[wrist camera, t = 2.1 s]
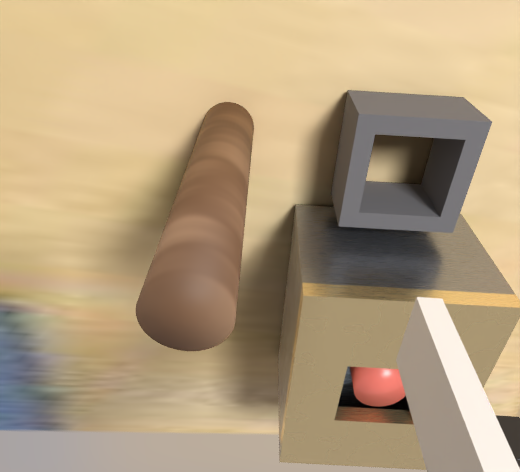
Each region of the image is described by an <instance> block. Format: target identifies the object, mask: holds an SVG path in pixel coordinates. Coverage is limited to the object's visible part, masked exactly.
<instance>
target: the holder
mask: <svg viewBox="0 0 520 472" xmlns="http://www.w3.org/2000/svg"><path fill="white" fill-rule="evenodd" d="M491 123H492V121H490V120H489V119H488V118H487V117H486V116H485V115H483V114H482V113H481V112H480V111H479V110H478V109H476V108H475V107H474V106H473V105H472V104H471V103H469V102H468V101H467V100H466V99H465V98H464V97H449V96H432V95H416V94H400V93H384V92H368V91H352V90H348V91H347V97H346V104H345V110H344V116H343V122H342V128H341V134H340V141H339V147H338V153H337V159H336V165H335V172H334V178H333V184H332V190H331V195H332V200H333V204H334V208H335V213H336V217H337V222H338V226H340V227H357V228H374V229H391V230H409V231H426V232H443V233H453V231H454V228H455V225H456V223H457V220H458V217H459V214H460V211H461V208H462V206H463V203H464V200H465V197H466V194H467V191H468V189H469V186H470V183H471V180H472V177H473V174H474V172H475V169H476V166H477V163H478V160H479V157H480V155H481V152H482V149H483V146H484V143H485V140H486V138H487V135H488V132H489V129H490V126H491ZM375 134H378V135H394V136H411V137H427V138H434V140H433V144H432V147H431V151H430V154H429V158H428V161H427V165H426V168H425V172H424V175H423V179H422V182H421V184H405V183H389V182H372V181H366V176H367V171H368V167H369V162H370V157H371V152H372V147H373V142H374V138H375Z"/></svg>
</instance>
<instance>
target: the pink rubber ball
mask: <svg viewBox="0 0 520 472" xmlns="http://www.w3.org/2000/svg"><path fill="white" fill-rule="evenodd" d="M350 372H351V377H352V383H353V389H354V394H355V396H356V398H357V399H358V400H359V401H360V402H362V403H363V404H366V405H369V406H387V405H391V404H394V403H396V402H398V401H400V400H401V399H402V398H404V397H405V391H404V387H403V384H402V380H401V377H400V373H399V369H386V368H367V367H350Z"/></svg>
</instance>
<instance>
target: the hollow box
mask: <svg viewBox="0 0 520 472" xmlns="http://www.w3.org/2000/svg"><path fill="white" fill-rule="evenodd" d="M416 297H425V298H440V299H443V301H444V303H445V306H446V308H447V310H448V312H449V314H450V317H451V319H452V321H453V323H454V325H455V328H456V330H457V332H458V334H459V336H460V339H461V341H462V343H463V345H464V347H465V350H466V352H467V354H468V356H469V358H470V361H471V363H472V365H473V367H474V369H475V372H476V374H477V376H478V378H479V380H480V383H481V385H482V387H484V385H485V383H486V381H487V380H488V378H489V376H490V374H491V372H492V370H493V368H494V366H495V364H496V362H497V360H498V358H499V356H500V354H501V352H502V351H503V349H504V347H505V345H506V343H507V341H508V339H509V337H510V335H511V333H512V331H513V329H514V327H515V325H516V324H517V322H518V320H519V318H520V301H519V299H518V298H517V296H516V295H515V293H514V292H513V290H512V289H511V287H510V286H509V284H508V283H507V281H506V280H505V278H504V277H503V275H502V274H501V272H500V271H499V269H498V268H497V266H496V265H495V264H494V262H493V261H492V259H491V258H490V256H489V255H488V253H487V252H486V250H485V249H484V247H483V246H482V244H481V243H480V241H479V240H478V238H477V237H476V235H475V234H474V232H473V231H472V229H471V228H470V226H469V225H468V223H467V222H466V221H465V219H464V218H463V216H462V215H461V214H459V217H458V220H457V223H456V225H455V228H454V231H453V233H443V232H426V231H409V230H391V229H374V228H357V227H340V226H338V222H337V217H336V213H335V208H334V207H330V206H313V205H295V214H294V223H293V232H292V241H291V249H290V258H289V267H288V276H287V285H286V293H285V302H284V311H283V320H282V328H281V337H280V346H279V355H278V387H279V458H280V462H288V463H306V464H325V465H345V466H366V467H383V468H402V469H422V470H426V466H425V463H424V459H423V455H422V452H421V448H420V445H419V441H418V438H417V434H416V430H415V427H414V423H413V420H412V416H411V412H410V409H409V405H408V402H407V398H406V395H405V397H404V398H402V399H401V400H400V401H398V402H396V403H394V404H391V405H387V406H369V405H366V404H363V403H362V402H360V401H359V400H358V399H357V398H356V396H355V394H354V389H353V383H352V377H351V372H350V367H367V368H386V369H398V366H397V362H396V358H397V355H398V352H399V349H400V346H401V343H402V340H403V337H404V334H405V331H406V328H407V325H408V322H409V318H410V315H411V312H412V309H413V306H414V303H415V300H416Z"/></svg>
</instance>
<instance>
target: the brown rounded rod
mask: <svg viewBox="0 0 520 472" xmlns="http://www.w3.org/2000/svg"><path fill="white" fill-rule="evenodd" d="M253 131H254V124H253V120H252V118H251V116H250V114H249V113H248V111H247V110H246V109H245V108H243V107H242V106H240V105H238V104H236V103H231V102H224V103H219V104H217V105H215V106H213V107H212V108H211V109H210V110H209V111H208V112H207V114H206V116H205V119H204V121H203V124H202V127H201V129H200V132H199V135H198V138H197V140H196V143H195V146H194V149H193V151H192V154H191V157H190V159H189V162H188V165H187V168H186V170H185V173H184V176H183V179H182V181H181V184H180V187H179V189H178V192H177V195H176V198H175V200H174V203H173V206H172V209H171V211H170V214H169V217H168V219H167V222H166V225H165V228H164V230H163V233H162V236H161V239H160V241H159V244H158V247H157V249H156V252H155V255H154V258H153V260H152V263H151V266H150V269H149V271H148V274H147V277H146V279H145V282H144V285H143V288H142V290H141V293H140V296H139V299H138V301H137V304H136V316H137V320H138V322H139V324H140V326H141V328H142V329H143V330H144V332H145V333H146V334H147V335H148V336H150V337H151V338H152V339H153V340H155V341H157V342H158V343H160V344H162V345H164V346H167V347H169V348H173V349H177V350H183V351H200V350H205V349H209V348H212V347H214V346H217V345H219V344H220V343H222V342H223V341H225V340H226V339H227V338H228V337H229V335H230V334H231V333H232V331H233V329H234V326H235V320H236V310H237V300H238V289H239V279H240V268H241V257H242V247H243V236H244V226H245V215H246V205H247V194H248V184H249V173H250V163H251V152H252V142H253Z"/></svg>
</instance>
